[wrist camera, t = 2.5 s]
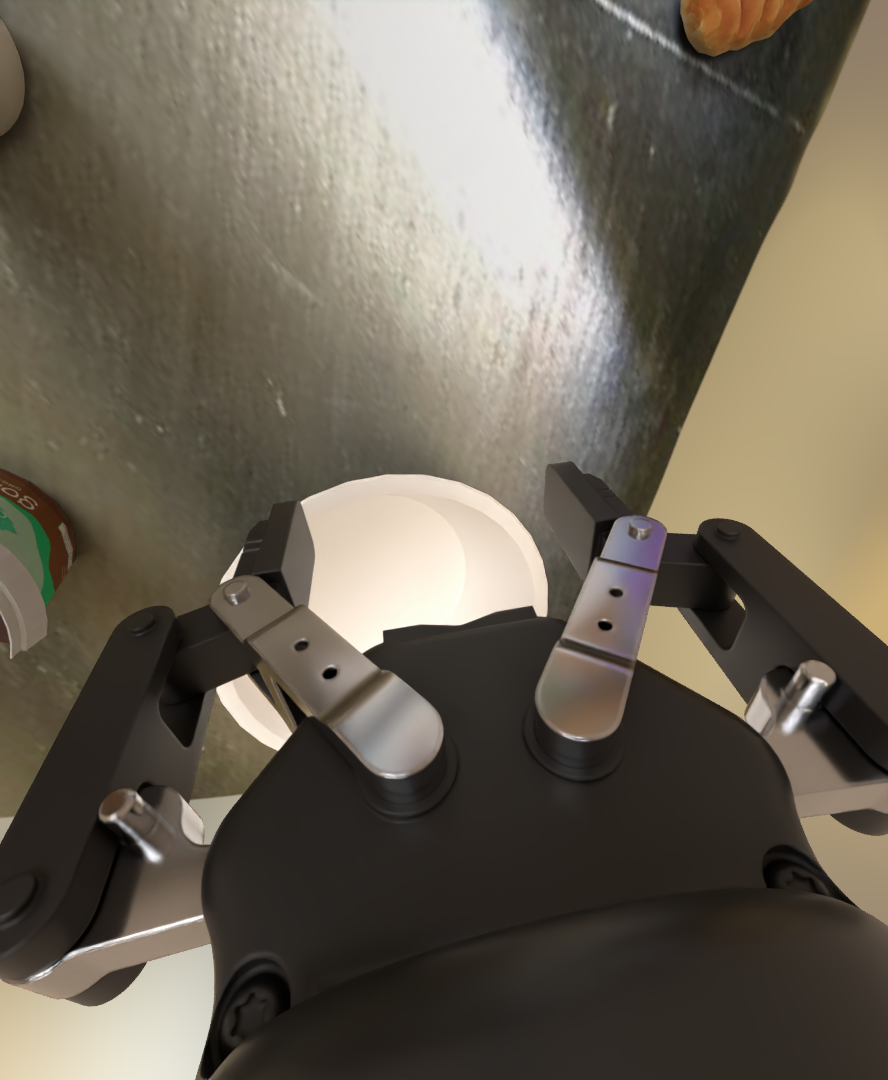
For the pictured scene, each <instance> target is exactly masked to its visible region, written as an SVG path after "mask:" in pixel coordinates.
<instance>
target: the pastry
mask: <svg viewBox="0 0 888 1080" xmlns="http://www.w3.org/2000/svg"><path fill="white" fill-rule="evenodd" d="M811 1H812V0H681V1H680V4H681V7H680V14H681V17H682V20H683V24H684V29H685V33H686V36H687V38H688V40H689V42H690V43H691V45H692V46H693V47H694V49H695V50H696V51H697V52H699V53H704V54H707V55H710V56H713V57H714V56H717V55H719V54H721V53H724V52H727V51H729V50H740V49H741V48H744V47H746V46H747V45H749V44H750V43H752V42H754V41H758V40H763V39H766V38H768V37H770V36H772V35H773V34H774V33H775V31H776V30H777V29H779V28H780V26H781V25H782V24H783V23H784V22H785V21H786V20H787V19H788V18H789V17H790V16H791V15H792V14H793V13H794V12H796V11H797V10H799V9H801V8H803V7H805V6H807V5H808V4H809V3H811Z"/></svg>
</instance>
